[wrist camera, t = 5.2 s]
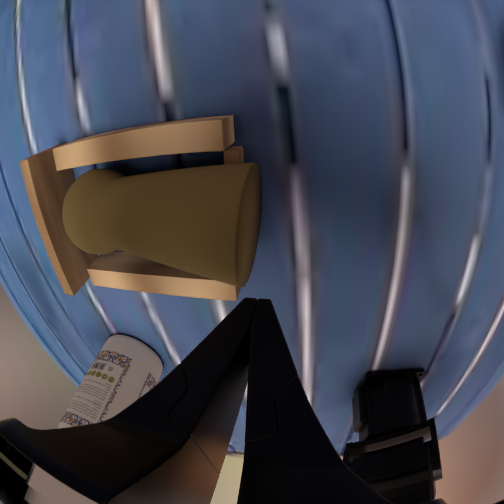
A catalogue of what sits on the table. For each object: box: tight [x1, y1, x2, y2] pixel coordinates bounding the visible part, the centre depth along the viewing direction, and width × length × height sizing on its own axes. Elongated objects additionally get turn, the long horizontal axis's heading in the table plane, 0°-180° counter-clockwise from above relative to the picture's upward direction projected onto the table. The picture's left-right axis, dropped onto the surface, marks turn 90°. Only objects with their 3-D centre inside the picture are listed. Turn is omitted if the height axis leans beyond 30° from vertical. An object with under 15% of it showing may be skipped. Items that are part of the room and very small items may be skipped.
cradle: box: [20, 115, 244, 301], centre depth 16 cm, size 14×10×4 cm
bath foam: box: [58, 335, 163, 429], centre depth 19 cm, size 7×7×20 cm
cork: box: [62, 162, 262, 288], centre depth 14 cm, size 6×6×11 cm
